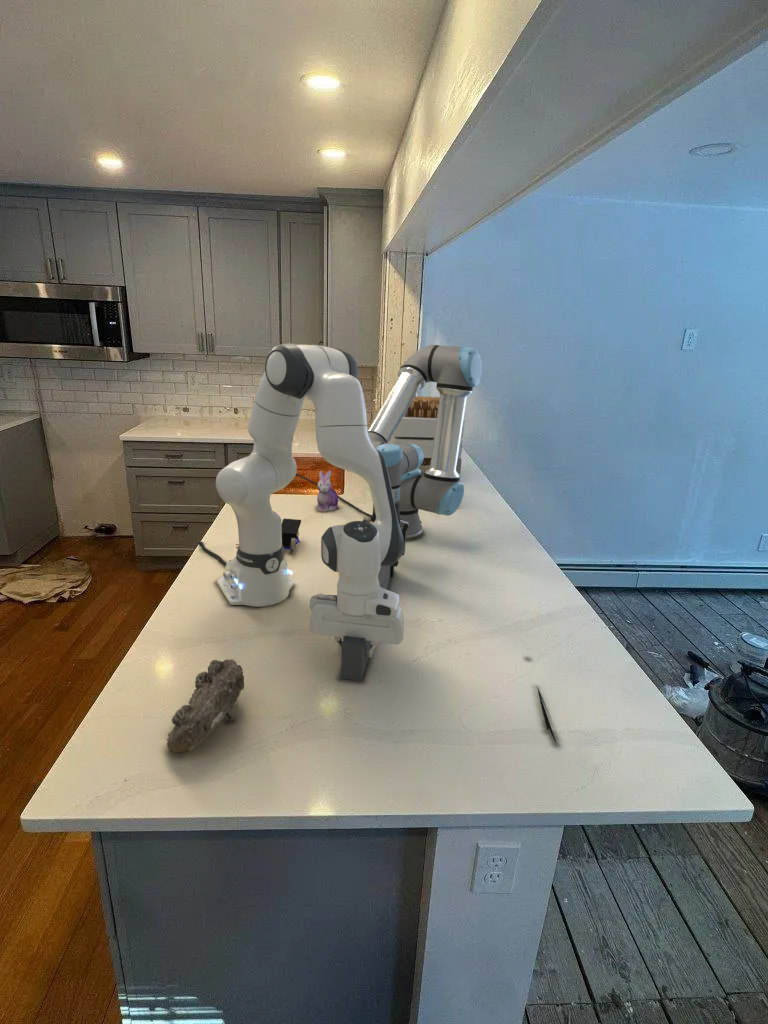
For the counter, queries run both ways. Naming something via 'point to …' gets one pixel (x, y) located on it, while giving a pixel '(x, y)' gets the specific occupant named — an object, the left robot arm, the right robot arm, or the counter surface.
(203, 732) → the fossil
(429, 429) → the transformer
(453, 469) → the right robot arm
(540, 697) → the feather
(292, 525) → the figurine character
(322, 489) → the figurine
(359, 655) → the bar
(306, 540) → the counter surface
